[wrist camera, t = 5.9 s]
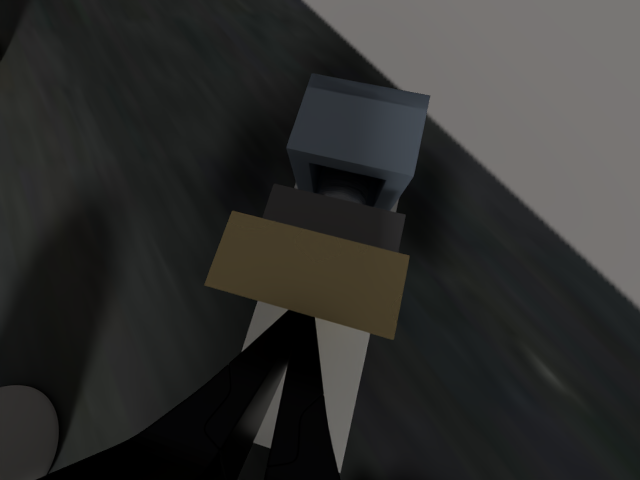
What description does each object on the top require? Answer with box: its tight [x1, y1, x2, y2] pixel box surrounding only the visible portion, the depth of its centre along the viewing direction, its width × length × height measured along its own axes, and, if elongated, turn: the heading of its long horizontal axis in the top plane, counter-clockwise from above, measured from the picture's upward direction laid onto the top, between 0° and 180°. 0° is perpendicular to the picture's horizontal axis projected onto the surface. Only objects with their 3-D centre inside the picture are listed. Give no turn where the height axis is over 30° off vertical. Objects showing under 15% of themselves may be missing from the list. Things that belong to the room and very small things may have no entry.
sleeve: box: [262, 183, 406, 253], centre depth 15 cm, size 3×7×7 cm, turn 75°
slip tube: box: [204, 167, 410, 340], centre depth 13 cm, size 11×6×11 cm, turn 165°
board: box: [242, 184, 399, 473], centre depth 18 cm, size 22×8×1 cm, turn 165°
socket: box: [286, 73, 430, 211], centre depth 17 cm, size 5×7×7 cm
